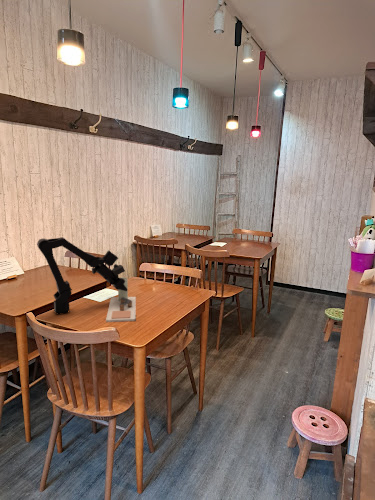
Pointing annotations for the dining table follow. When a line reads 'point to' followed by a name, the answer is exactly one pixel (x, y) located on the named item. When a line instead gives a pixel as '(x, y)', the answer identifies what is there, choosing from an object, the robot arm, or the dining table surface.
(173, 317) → the dining table surface
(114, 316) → the mat
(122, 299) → the brown arch piece
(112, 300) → the base board
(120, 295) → the grey upright cylinder
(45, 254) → the robot arm
